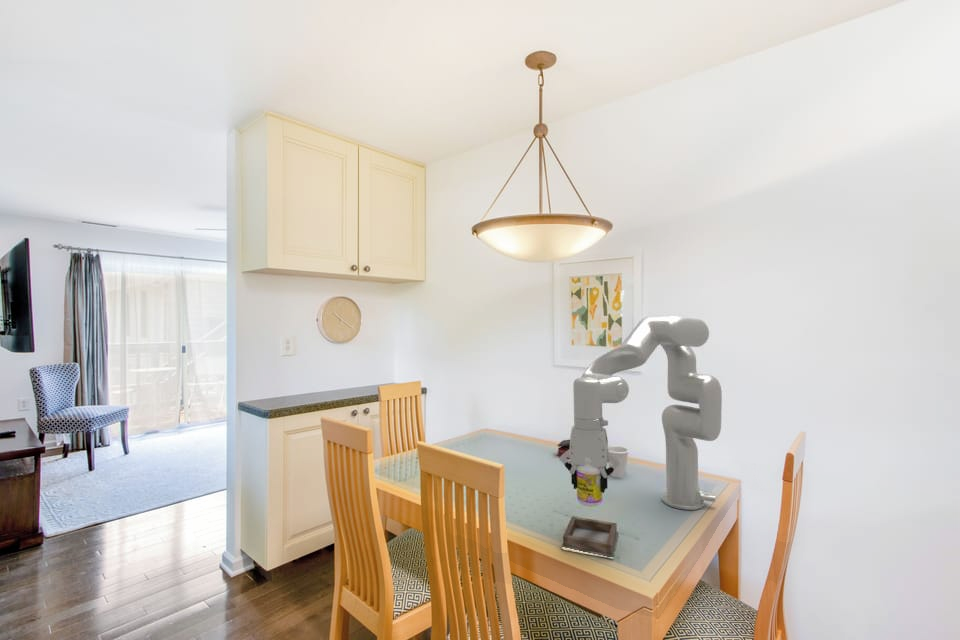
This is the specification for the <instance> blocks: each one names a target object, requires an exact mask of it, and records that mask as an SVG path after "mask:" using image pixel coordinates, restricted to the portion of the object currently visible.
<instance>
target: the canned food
mask: <svg viewBox="0 0 960 640" xmlns="http://www.w3.org/2000/svg"><path fill="white" fill-rule="evenodd" d="M556 446H557V447H558V448H557V453H558V454H557V455H558V458H560V457H561V456H562V455H563V454H564V453H565V452H566V451H568V450H569V449H570V439H563V440H562V441H560V442H559V443H558V444H557V445H556ZM567 460H570V459H569V456H568V457H567Z"/></svg>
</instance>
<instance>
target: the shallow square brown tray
mask: <svg viewBox="0 0 960 640" xmlns="http://www.w3.org/2000/svg"><path fill="white" fill-rule="evenodd" d="M617 525H618V523H617V522H612V521H611V522H609V521H605V520H604V521H603V520H598V519H594V518H593V519H592V518H586V517H580V516H579V517H578V516H574V515H573V516H571V518H570V519H569V522H568V524H567V527H566V529H565V531H564V533H563V535H562V544H561V547H565V548H570V549H574V550H579V551H583V552H588V553H593V554H598V555H603V556H607V557H614V558H615V554H614V552H615V553H616V549H615V547H616V548H617V544H618V540H617V538H618V539H619V531H618V529H617ZM616 543H617V544H616Z"/></svg>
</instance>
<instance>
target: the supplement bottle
mask: <svg viewBox="0 0 960 640" xmlns="http://www.w3.org/2000/svg"><path fill="white" fill-rule="evenodd" d="M584 461H585V463H586V464H585V465H580V466H579V465H578V466H577V469H576V470H577V489H576V500H577V502H578V503H579V504H580V505H583V506H586V507H597V506H600V505H601V504H602V502H603V493H602V492H601V477H602V473H601V471H600V469H599V468H597V467H593V466H591V465H590V464H589V463H590V462H591V460H590V458H585V460H584Z"/></svg>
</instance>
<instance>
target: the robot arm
mask: <svg viewBox="0 0 960 640" xmlns="http://www.w3.org/2000/svg"><path fill="white" fill-rule="evenodd" d="M709 337H710V330H709V327H708V325H707V323H706V322H705V321H703V320H701V319H699V318H690V317H683V316H676V315H662V316H661V315H659V316H658V315H655V316H654V315H651V316H646V317H644V318H642V319H641V320H639V322H637V324H636V325H635V326H634V328H633V329H632V331H631V332H630V333H629V334H628V336H626V338H625V339H624V340H623V342H622V343H621V344H620V345H619V346H617V347H615V348H613V349H611V350H609V351H607V352H606V353H604V354H602V355H601V356H598V357H597V358H596V359H594V360H593V361H592V362H591V364H589V366H588V367H587V368H586V369H585V371H584V372H583V373H582V375H581V376H580V377H578V378H575V379H574V380H573V385H572V386H573V387H572V389H573V425H572V427H571V430H570V438H569V440H570V449H569V450H568V451H566V452H565V453H564V454H563V455H562V456H561V457H559V460H560V462H561V463H562V464H563V465H564V466H565V468H566V469H567V470H568V471H569V474H570V475H571V477H570V480H571V485H573V490H577V466H578V465H579V466H580V465H585V464H586V463H585V461H584V460H585V458H590V460H591V462H590V463H589V464H590V465H591V466H593V467H597V468H599V469H600V471H601V473H602V477H601V492H602V494H604V493H605V491H606V490H607V489H608V487H609V486H608V485H609V483H608V477H609V476H611V475H610V474H611V473H612V472H613V471H614V470H615V469H616V468H617V467H618V466H619V464H620V463H619V462H618V461H617V460H616V459H615V458H614V457H613V456H612V455H611V454H610V453H609V450H608V447H609V441H608V440H609V439H608V435H607V434H608V433H607V429H606V428H605V427H607V426H609V421H608V420H605V419H604V417H603V404H619V403H621V402H623V401H624V400H626V399H627V397H628V395H629V392H630V387H629V384H628V382H627V381H626V380H625V379H624V378H622V377H620V376H617V375H614V374H616V373H619V372H623V371H628V370H633V369H635V368H639V367H641V366H643V365H644V364H646V363H647V361H648V359H649V358H650V357H651V356H652V354H653V353H654V352H655V350H656V349H657V348H658V346H659V345H660V346H661V348H662V349H663V351H664V353H665V355H666V358H667V393H668V396H669V397H670V399H672V400H675V401H679V402H683V403H689V404H690V403H691V404H696V405H698V407H695V406H688V405H683V404H672V405H670V404H669V405H667V406H666V407H665V408H664V409H663V410H662V414H661V423H662V427H663V432H664V439H665V440H664V441H665V465H666V466H665V476H666V477H665V478H666V481H665V482H666V491H665V492H664V493H662V494H661V500H662V502H663V503H664V504H665V505H667V506H669V507H671V508H676V509H679V510H687V511H695V510H699V509H702V508H704V507H705V501H707V502H712V503H716V496H715V495H713V494H711V493H710V492H705V491H704V492H703V491H701V489H700V486H699V451H698V447H697V444H696V442H695V440H694V439H697V440H701V441H705V442H714V441H717V439H718V438H719V436H720V434H721V429H722V405H723V404H722V402H723V401H722V399H723V397H722V386H721V384H720V381H719V380H718V379H717V378H716V377H715V376H713V375H712V374H711V375H710V374H706V373H705V374H703V373H698V372H697V358H696V354H695V352H694V350H693V348H700V347H702V346H703V345H705V343H707V341H708V340H709ZM568 456H569V459H567V457H568ZM609 461H610V462H611V463H612V465H611V466H610V467H609V466H608V462H609ZM607 467H608V468H607Z"/></svg>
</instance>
